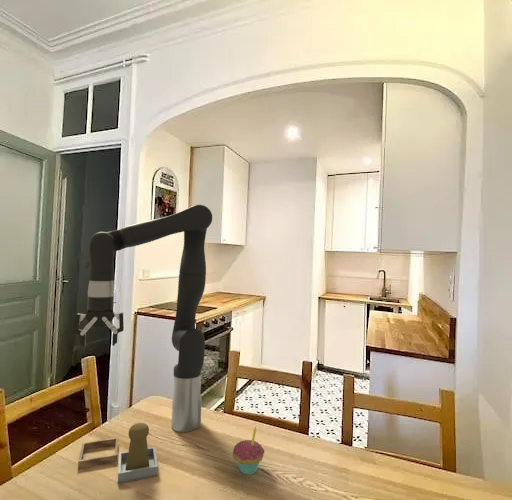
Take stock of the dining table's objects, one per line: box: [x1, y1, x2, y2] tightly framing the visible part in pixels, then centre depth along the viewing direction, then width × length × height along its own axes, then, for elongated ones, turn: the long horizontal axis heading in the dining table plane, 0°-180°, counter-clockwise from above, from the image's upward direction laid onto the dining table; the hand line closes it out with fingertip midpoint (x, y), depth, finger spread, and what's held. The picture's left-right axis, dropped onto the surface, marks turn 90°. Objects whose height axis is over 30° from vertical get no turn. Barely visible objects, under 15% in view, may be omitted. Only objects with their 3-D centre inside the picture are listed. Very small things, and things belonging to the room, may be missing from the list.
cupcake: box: [232, 426, 265, 475], centre depth 92 cm, size 9×8×12 cm
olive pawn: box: [125, 422, 150, 471], centre depth 90 cm, size 6×6×11 cm
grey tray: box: [117, 446, 159, 485], centre depth 90 cm, size 10×10×2 cm
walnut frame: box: [77, 437, 119, 470], centre depth 95 cm, size 10×10×2 cm
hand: (98, 346), depth 107 cm, fingers open, 8 cm apart
